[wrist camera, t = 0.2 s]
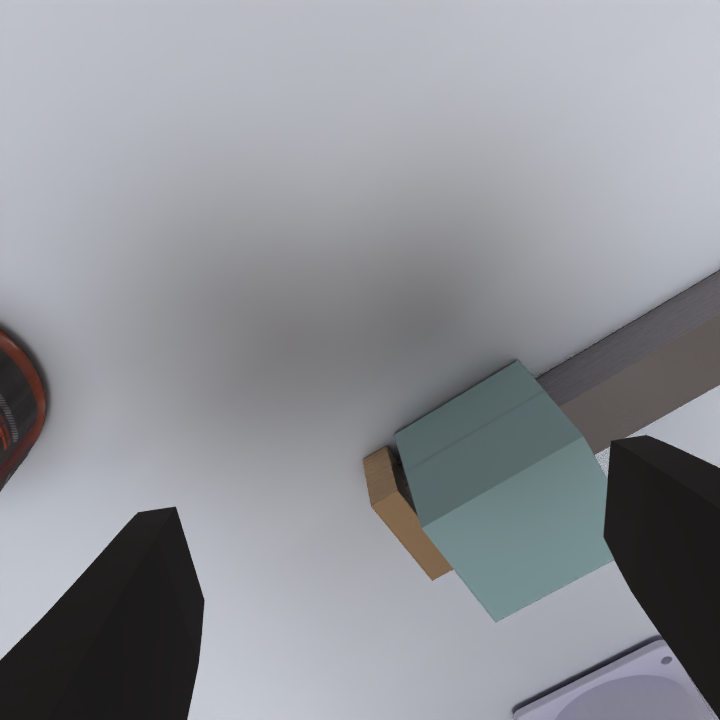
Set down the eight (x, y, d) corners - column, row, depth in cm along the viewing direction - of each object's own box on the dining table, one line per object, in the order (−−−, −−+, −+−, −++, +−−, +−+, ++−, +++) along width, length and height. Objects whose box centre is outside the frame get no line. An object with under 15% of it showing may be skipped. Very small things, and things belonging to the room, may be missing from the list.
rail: (838, 291, 20) (911, 316, 18) (417, 530, 22) (432, 580, 20) (811, 191, 18) (888, 204, 16) (362, 460, 21) (371, 506, 18)
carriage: (571, 452, 21) (643, 544, 17) (455, 517, 22) (495, 622, 18) (518, 360, 20) (583, 436, 15) (394, 434, 20) (421, 527, 16)
